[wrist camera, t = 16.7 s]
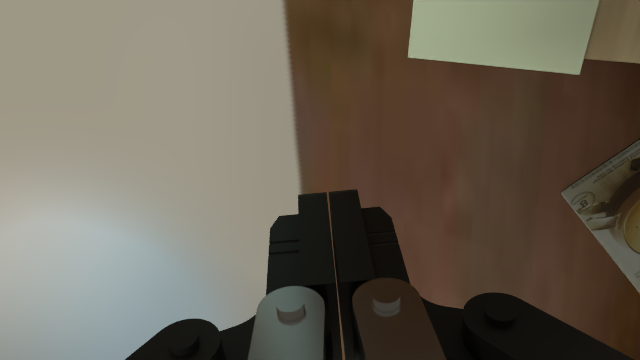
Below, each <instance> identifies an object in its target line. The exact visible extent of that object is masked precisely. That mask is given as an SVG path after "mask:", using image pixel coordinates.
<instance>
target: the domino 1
mask: <svg viewBox="0 0 640 360" xmlns="http://www.w3.org/2000/svg"><path fill="white" fill-rule="evenodd" d="M598 3H599V0H414V2H413V12H412V22H411V32H410V42H409V51H408V57H410V58H420V59H430V60H440V61H449V62H459V63H469V64H479V65H489V66H498V67H508V68H518V69H528V70H538V71H547V72H557V73H567V74H577V75H579V74H580V71H581V67H582V63H583V59H584V55H585V52H586V48H587V44H588V40H589V37H590V33H591V29H592V25H593V22H594V18H595V14H596V10H597V7H598Z"/></svg>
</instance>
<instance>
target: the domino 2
mask: <svg viewBox="0 0 640 360" xmlns="http://www.w3.org/2000/svg"><path fill="white" fill-rule="evenodd" d="M584 59H594V60H606V61H618V62H630V63H640V0H599V3H598V7H597V10H596V14H595V18H594V22H593V25H592V29H591V33H590V37H589V40H588V44H587V48H586V52H585V55H584Z"/></svg>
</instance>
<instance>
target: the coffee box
mask: <svg viewBox="0 0 640 360" xmlns="http://www.w3.org/2000/svg"><path fill="white" fill-rule="evenodd" d="M561 194H562V196H563V197H564V198H565V199H566V201H567V202H568V203H569V205H570V206H571V207H572V208H573V210H574V211H575V212H576V213H577V215H578V216H579V217H580V219H581V220H582V221H583V222H584V224H585V225H586V226H587V227H588V229H589V230H590V231H591V232H592V234H593V235H594V236H595V237H596V239H597V240H598V241H599V242H600V244H601V245H602V246H603V247H604V249H605V250H606V251H607V252H608V254H609V255H610V256H611V257H612V259H613V260H614V261H615V263H616V264H617V265H618V266H619V268H620V269H621V270H622V271H623V273H624V274H625V275H626V277H627V278H628V279H629V280H630V282H631V283H632V284H633V285H634V287H635V288H636V289H637V291H638V292H639V293H640V140H638V141H637V142H635V143H634V144H632V145H631V146H629V147H628V148H626V149H625V150H623V151H622V152H620V153H619V154H617V155H616V156H614V157H613V158H611V159H610V160H608V161H607V162H605V163H604V164H602V165H601V166H599V167H598V168H596V169H595V170H593V171H592V172H590V173H589V174H587V175H586V176H584V177H583V178H581V179H580V180H578V181H577V182H575V183H574V184H572V185H571V186H569V187H568V188H566V189H565V190H563V191H562V192H561Z"/></svg>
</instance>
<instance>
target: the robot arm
mask: <svg viewBox="0 0 640 360" xmlns="http://www.w3.org/2000/svg"><path fill="white" fill-rule="evenodd" d="M329 201H330V213H331V225H332V237H333V248H334V259H335V268H334V259H333V250H332V240H331V231H330V221H329V212H328V203H327V193H326V192H324V193H313V194H302V195H298V209H299V214H297V215H286V216H279V217H278V218H277V220H276V221H275V223H274V224H273V226H272V227H271V228H270V242H269V243H270V245H269V257H268V258H269V259H268V273H267V289H266V296H265V297H264V298H263V300H262V301H261V302H260V304H259V306H258V308H257V312H256V315H254V316H253V317H252V318H251V319H249V320H248V321H246V322H244V323H242V324H239V325H237V326H235V327H231V328H228V329H226V330H223V331H220V332H219V330H218V328H217V327H216V326H215V325H214V324H212V323H211V322H209V321H206V320H202V319H186V320H181V321H178V322H175V323H173V324H171V325H169V326H167V327H165V328H164V329H162V330H161V331H160V332H158V333H157V334H156V335H155V336H154V337H152V338H151V339H150V340H149V341H147V342H146V343H145V344H144V345H142V346H141V347H140V348H139V349H137V350H136V351H135V352H134V353H132V354H131V355H130V356H129V357H128V358H126V359H125V360H342V348H341V336H340V324H339V312H338V300H337V288H336V278H337V287H338V296H339V305H340V315H341V324H342V333H343V342H344V351H345V360H634V359H632V358H630V357H628V356H626V355H624V354H623V353H621V352H619V351H617V350H615V349H613V348H611V347H609V346H608V345H606V344H604V343H602V342H600V341H598V340H596V339H594V338H592V337H591V336H589V335H587V334H585V333H583V332H581V331H579V330H577V329H576V328H574V327H572V326H570V325H568V324H566V323H564V322H562V321H561V320H559V319H557V318H555V317H553V316H551V315H549V314H547V313H546V312H544V311H542V310H540V309H538V308H536V307H534V306H532V305H530V304H529V303H527V302H525V301H523V300H521V299H519V298H517V297H515V296H512V295H508V294H504V293H484V294H480V295H477V296H475V297H473V298H471V299H470V300H469V301H468V302H467V303H466V304H465V306H464V309H458V308H452V307H445V306H440V305H437V304H434V303H431V302H429V301H427V300H425V299H423V298H422V297H420V295H419V293H418V291H417V290H416V289H415V288H414V287H413V286H412V285H411V284H410V281H409V278H408V274H407V271H406V267H405V264H404V260H403V257H402V253H401V250H400V246H399V244H398V239H397V236H396V233H395V229H394V225H393V222H392V218H391V217H390V216H389V215H388V214H387V213H386V212H385V211H384V210H383V209H382V208H380V207H372V208H361V206H360V201H359V196H358V191H357V189H356V190H345V191H334V192H329ZM335 269H336V278H335Z"/></svg>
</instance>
